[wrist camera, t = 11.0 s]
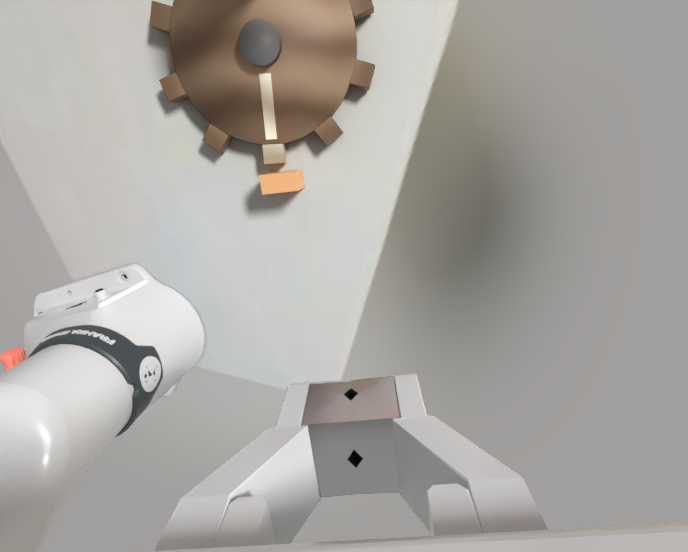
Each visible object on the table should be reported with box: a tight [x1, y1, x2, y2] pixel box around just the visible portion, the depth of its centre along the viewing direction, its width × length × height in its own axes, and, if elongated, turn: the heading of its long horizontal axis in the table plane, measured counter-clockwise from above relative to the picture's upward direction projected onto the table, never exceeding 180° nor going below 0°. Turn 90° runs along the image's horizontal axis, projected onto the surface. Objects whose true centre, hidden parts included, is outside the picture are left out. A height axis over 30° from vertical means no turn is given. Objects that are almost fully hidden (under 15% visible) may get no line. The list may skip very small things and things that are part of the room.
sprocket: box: [150, 0, 375, 164], centre depth 36 cm, size 23×23×12 cm
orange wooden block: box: [259, 170, 305, 195], centre depth 44 cm, size 4×2×4 cm, turn 96°
